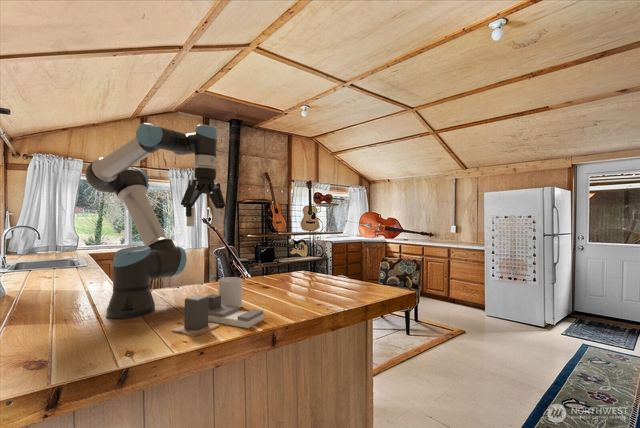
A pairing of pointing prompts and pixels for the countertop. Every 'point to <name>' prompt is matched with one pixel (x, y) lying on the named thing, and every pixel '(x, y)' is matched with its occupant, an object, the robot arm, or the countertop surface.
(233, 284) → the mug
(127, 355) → the countertop surface
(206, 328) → the coaster
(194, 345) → the countertop surface
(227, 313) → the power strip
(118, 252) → the robot arm
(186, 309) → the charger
